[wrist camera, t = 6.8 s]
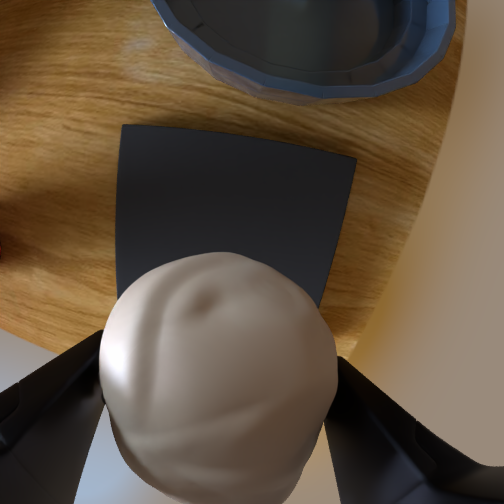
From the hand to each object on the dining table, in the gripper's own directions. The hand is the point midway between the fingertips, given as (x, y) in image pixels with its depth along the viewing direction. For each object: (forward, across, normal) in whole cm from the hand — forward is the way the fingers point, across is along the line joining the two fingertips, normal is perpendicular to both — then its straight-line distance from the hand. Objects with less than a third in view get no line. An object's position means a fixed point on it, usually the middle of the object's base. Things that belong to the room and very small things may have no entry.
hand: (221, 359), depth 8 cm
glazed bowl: (+9, -1, -15) cm, 18 cm away
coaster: (+9, 0, 0) cm, 9 cm away
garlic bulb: (+2, 0, 0) cm, 2 cm away
